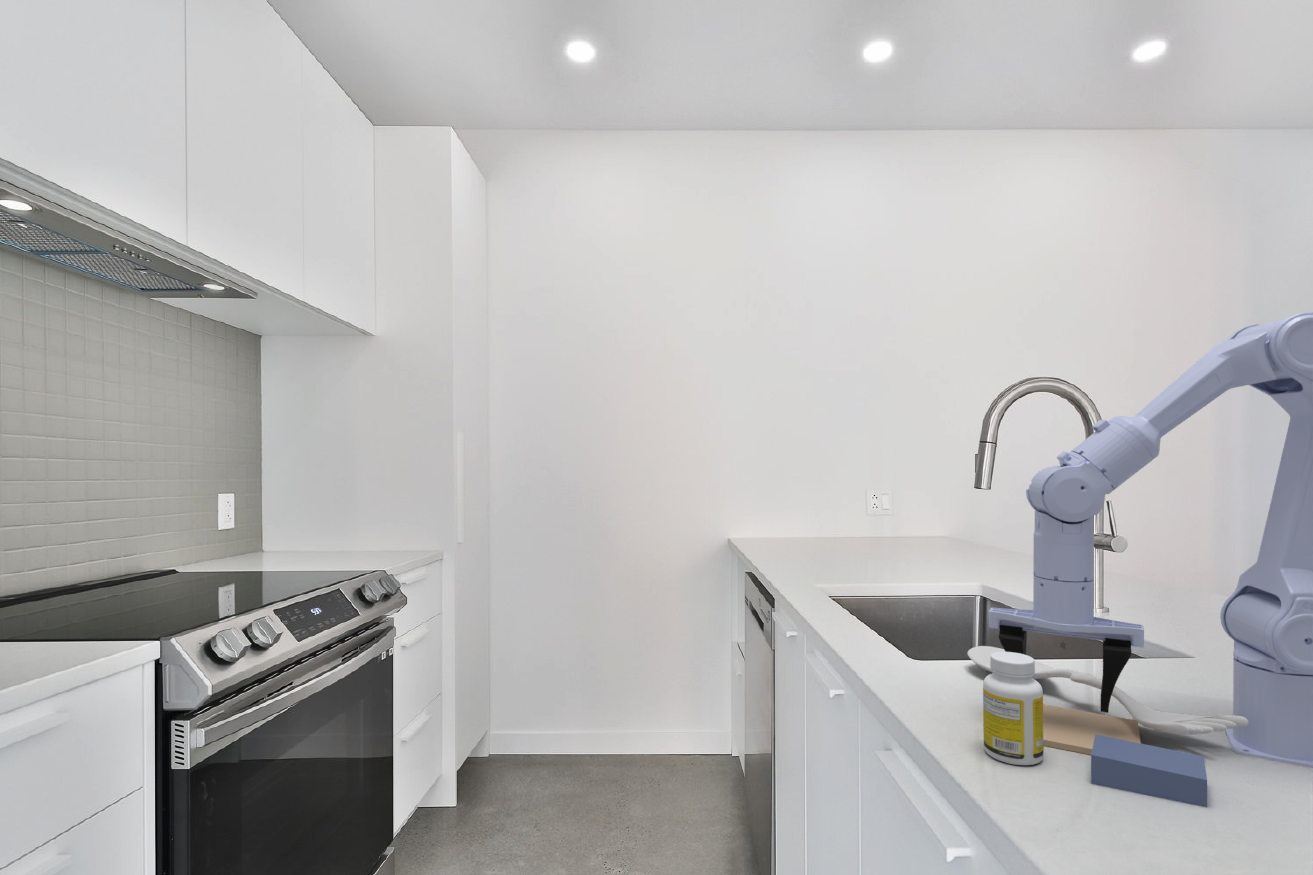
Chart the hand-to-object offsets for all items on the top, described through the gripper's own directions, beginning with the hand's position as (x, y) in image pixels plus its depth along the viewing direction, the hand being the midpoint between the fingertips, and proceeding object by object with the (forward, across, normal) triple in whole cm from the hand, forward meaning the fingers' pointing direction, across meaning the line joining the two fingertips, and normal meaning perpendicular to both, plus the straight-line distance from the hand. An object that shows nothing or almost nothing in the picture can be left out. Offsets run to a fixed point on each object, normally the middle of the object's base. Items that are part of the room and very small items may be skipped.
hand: (1062, 702), depth 79 cm
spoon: (+3, -1, -9) cm, 10 cm away
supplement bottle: (+3, +4, +10) cm, 11 cm away
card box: (+3, -7, +10) cm, 13 cm away
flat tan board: (+3, 0, 0) cm, 3 cm away
